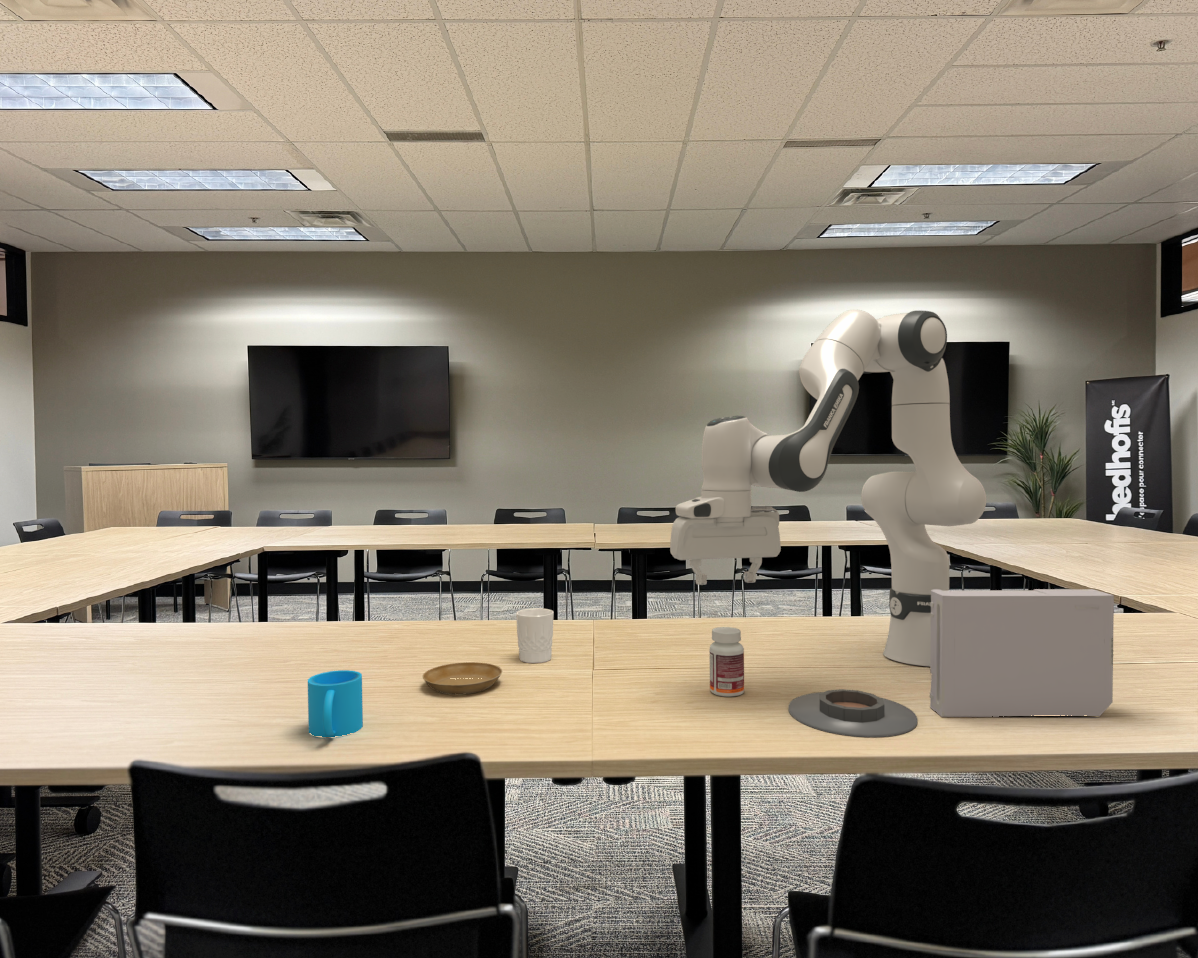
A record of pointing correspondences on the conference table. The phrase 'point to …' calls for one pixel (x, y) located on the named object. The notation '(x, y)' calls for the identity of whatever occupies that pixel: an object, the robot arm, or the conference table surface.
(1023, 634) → the game console
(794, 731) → the conference table surface
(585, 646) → the conference table surface
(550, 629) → the white cup
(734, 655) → the pill bottle
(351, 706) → the mug
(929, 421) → the robot arm
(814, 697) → the round tray
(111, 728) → the conference table surface
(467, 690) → the plant saucer
